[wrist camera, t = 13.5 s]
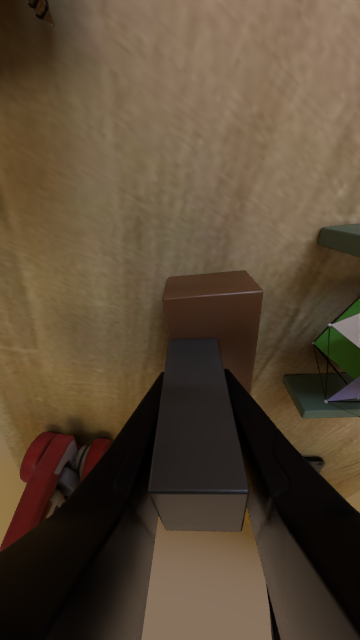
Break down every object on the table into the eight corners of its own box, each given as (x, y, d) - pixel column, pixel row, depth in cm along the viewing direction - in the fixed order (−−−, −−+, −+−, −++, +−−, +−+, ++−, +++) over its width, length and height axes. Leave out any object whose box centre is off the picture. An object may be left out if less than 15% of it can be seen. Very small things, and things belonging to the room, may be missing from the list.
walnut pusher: (238, 368, 15) (296, 552, 7) (180, 370, 15) (173, 548, 7) (246, 269, 11) (393, 437, 3) (167, 276, 11) (122, 441, 3)
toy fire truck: (111, 420, 19) (42, 618, 10) (114, 475, 25) (73, 625, 16) (37, 411, 18) (-103, 608, 9) (59, 469, 25) (-12, 619, 16)
